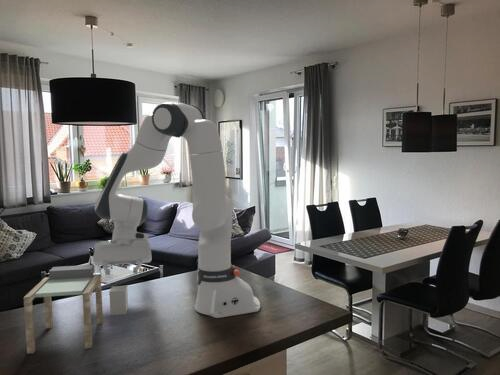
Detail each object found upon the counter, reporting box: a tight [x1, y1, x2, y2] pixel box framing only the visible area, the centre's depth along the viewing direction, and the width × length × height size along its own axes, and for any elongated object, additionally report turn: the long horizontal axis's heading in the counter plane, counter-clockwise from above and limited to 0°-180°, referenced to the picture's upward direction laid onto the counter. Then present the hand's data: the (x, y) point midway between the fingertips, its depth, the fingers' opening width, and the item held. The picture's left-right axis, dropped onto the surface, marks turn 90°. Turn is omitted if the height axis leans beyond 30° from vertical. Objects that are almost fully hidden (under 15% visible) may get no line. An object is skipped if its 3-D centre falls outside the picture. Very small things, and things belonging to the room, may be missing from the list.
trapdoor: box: [35, 264, 95, 298], centre depth 116 cm, size 12×16×4 cm
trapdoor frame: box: [23, 273, 104, 355], centre depth 115 cm, size 16×17×16 cm
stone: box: [109, 285, 129, 316], centre depth 133 cm, size 5×5×8 cm
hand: (121, 273), depth 140 cm, fingers open, 8 cm apart
